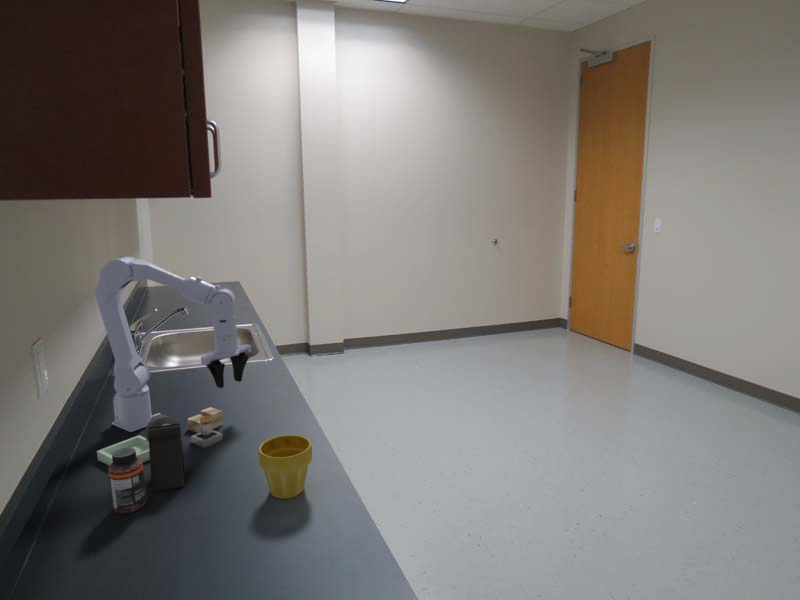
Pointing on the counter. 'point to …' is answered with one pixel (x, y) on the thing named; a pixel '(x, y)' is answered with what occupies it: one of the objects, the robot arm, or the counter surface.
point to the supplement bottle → (127, 481)
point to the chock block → (195, 420)
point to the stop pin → (206, 427)
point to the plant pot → (285, 464)
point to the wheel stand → (159, 422)
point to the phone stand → (166, 457)
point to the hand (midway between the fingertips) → (229, 383)
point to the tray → (136, 442)
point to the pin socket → (207, 442)
